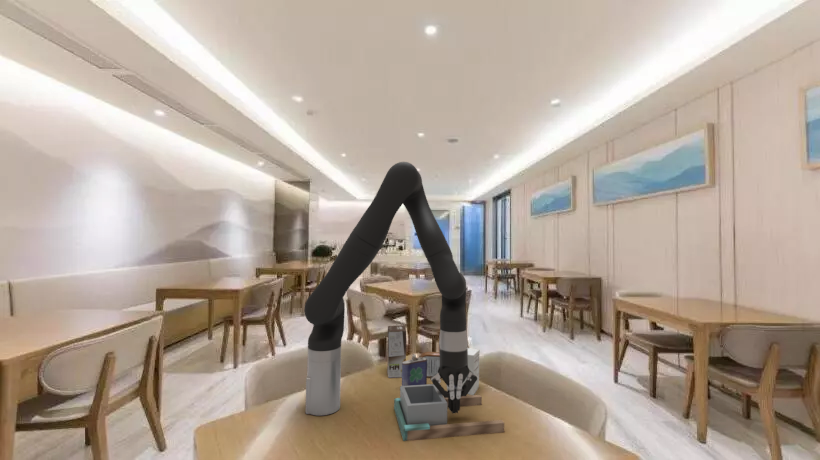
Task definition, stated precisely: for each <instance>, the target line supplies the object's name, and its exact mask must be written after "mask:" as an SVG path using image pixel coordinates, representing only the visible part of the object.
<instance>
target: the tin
mask: <svg viewBox="0 0 820 460" xmlns="http://www.w3.org/2000/svg"><path fill="white" fill-rule="evenodd" d="M420 357H422V358H426V359H427V378H431V377H432V376H435V375H436V374H437V373H438V369H439V367H440V353H439V352H438V351H424V352H423V353H421V354H420V355H418V357H417V358H420ZM440 379H442V378H441V377H440Z"/></svg>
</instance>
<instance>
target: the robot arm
mask: <svg viewBox="0 0 820 460" xmlns="http://www.w3.org/2000/svg"><path fill="white" fill-rule="evenodd" d="M422 179H423V178H422V176H421V174H420V172H419V170H418V169H417V167H416V166H415V165H413V164H412V163H411V162H409V161H399V162H397V163H394V164H393V165H392V166H391V167H390V168H389V169H388V171H386V175H385V176H384V178H383V179H382V182H381V184H380V186H379V188H378V190H377V192H376V194H375V196H374V197H373V199H372V201H371V203H370V204H369V206H368V208H367V209H366V210H365V211H364V213H363V215H362V216H361V217H360V219H359V220H358V222H357V223H356V225H355V226H354V228H353V229H352V231H351V232H350V234H349V236H348V237H347V239H346V240H345V242H344V244H343V246H342V247H341V249H340V250H339V252H338V254H337V255H336V257H335V259H334V261H333V262H332V264H331V266H330V268H329V270H328V271H327V273H326V275H325V276H324V277H323V279H321V280H320V282H319V284H318V285H317V286H316V287H315V288H314V289H313V291H312V292H311V294H310V295H309V296H308V298H307V299H306V301H305V304H304V316H305V319H306V320H307V321H308V322H309V324H312V325H313V326H312V330H311V332H310V334H309V336H308V338H307V339H308V340H307V374H306V378H305V414H306V415H312V416H328V415H331V414H334V413H336V412H338V411H339V410H340V408H341V381H342V380H341V377H342V375H341V373H342V372H341V371H342V370H341V369H342V340H343V336H344V331H345V330H344V328H345V313H346V312H345V307H346V306H345V299H344V296H345V295H346V293H347V292H348V290H349V288H350V287H351V286H352V284H354V283H355V282H356V280H357V279H358V278H359V277H360V276H361V275H362V274H363V272H365V271H366V269H367V268H368V267H369V266H370V265H371V264H372V262H373V260H374V259H375V258H376V256H377V254H379V251H380V249H381V248H382V246H383V245H384V243H385V241H386V239H387V236H388V234H389V232H390V230H391V226H392V222H393V220H394V217H395V216H396V214H397V212H398V211H399V209H400V208H401V207H402V206H403V205H404V207H405V209H406V210H407V213H408V215H409V217H410V220H411V222H412V224H413V227H414V232H415V235H416V236H417V237H416V238H417V239H418V242H419V245H420V247H421V249H422V252H423V255H424V257H425V258H426V261H427V262H428V264H429V266H430V268H431V272H432V276H433V278H434V281H435V284H436V286H437V289H438V291H439V292H440V294H441V309H440V313H439V337H438V339H439V342H438V348H439V353H440V367H439V369H438V373H437V374H436V375H435V376H432V377H429V378H430V381H431V382H432V383H431V384H434V385H435V387H436V388H437V389H438V390H439V391H440V393H441V394H442V395H443V397H445V398H448V407H447V409H448V410H449V411H450V412H451V414H458V413H459V412H460V410H461V406H460V398H461V397H462V396H468V395H469V394H468V392H469V391H470V389H471V388H472V387H473V385H474V384H475V382H476V381H477V377H476V376H475V375H474V374H473V373H471V372H470V370H469V368H468V348H469V347H468V333H467V313H466V302H467V300H466V299H467V280H466V277H464V275H463V274H462V272H460V270H459V268H458V267H457V265H456V262H455V261H454V258H453V257H454V256H453V252H452V250H451V248H450V245H449V244H448V241H447V239H446V236H445V235H444V233H443V231H442V229H441V227H440V225H439V223H438V222H437V219H436V218H435V216H434V214H433V211H432V209H431V207H430V205H429V202H428V199H427V197H426V193H425V189H424V188H425V187H424V185H423V180H422ZM440 377H441V378H440ZM466 377H467V380H466V381H465V379H466ZM442 381H443V382H444V384H445V385H446V389H445V388H444V387H443V386H442V384H441V383H442ZM464 381H465V383H464V384H463V386H462V383H463V382H464Z"/></svg>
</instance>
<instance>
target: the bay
mask: <svg viewBox="0 0 820 460" xmlns="http://www.w3.org/2000/svg"><path fill="white" fill-rule="evenodd" d="M443 397H444V396H443ZM482 398H483V397H482V395H480V394H474V395H469V394H467V395H466V396H462V397H461V398H460V407H469V406H482V403H483V402H482V401H483V400H482ZM444 399H445V400H446V402H447V408H448V398H445V397H444ZM393 402H394V403H393V409H394V410H393V411H394V412H395V416H396V421H397V424H398V428H399V431H400V435H401V437H402V442H409V441H417V440H419V441H420V440H430V439H441V438H443V439H444V438H450V437H451V438H452V437H465V436H475V435H485V434H500V433H505V422H504V420H502V419H496V420H494V419H493V420H485V421H471V422H459V423H450V424H449V423H447V424H445V425H433V426H429V424H428V423H425V424H413V425H406V423H405V419H404V416H403V413H402V410H401V407H400V397H396V398H394V399H393Z"/></svg>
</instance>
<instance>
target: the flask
mask: <svg viewBox="0 0 820 460" xmlns="http://www.w3.org/2000/svg"><path fill="white" fill-rule="evenodd" d="M410 356H412V357H411V359H408V360H406V361H404V362H402V377H401V386H411V385H427V384H428V382H427V380H428V377H427V359H426V358H422V357H420V358H418V357H417V355H416V354H415V353H412V354H411V355H410Z"/></svg>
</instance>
